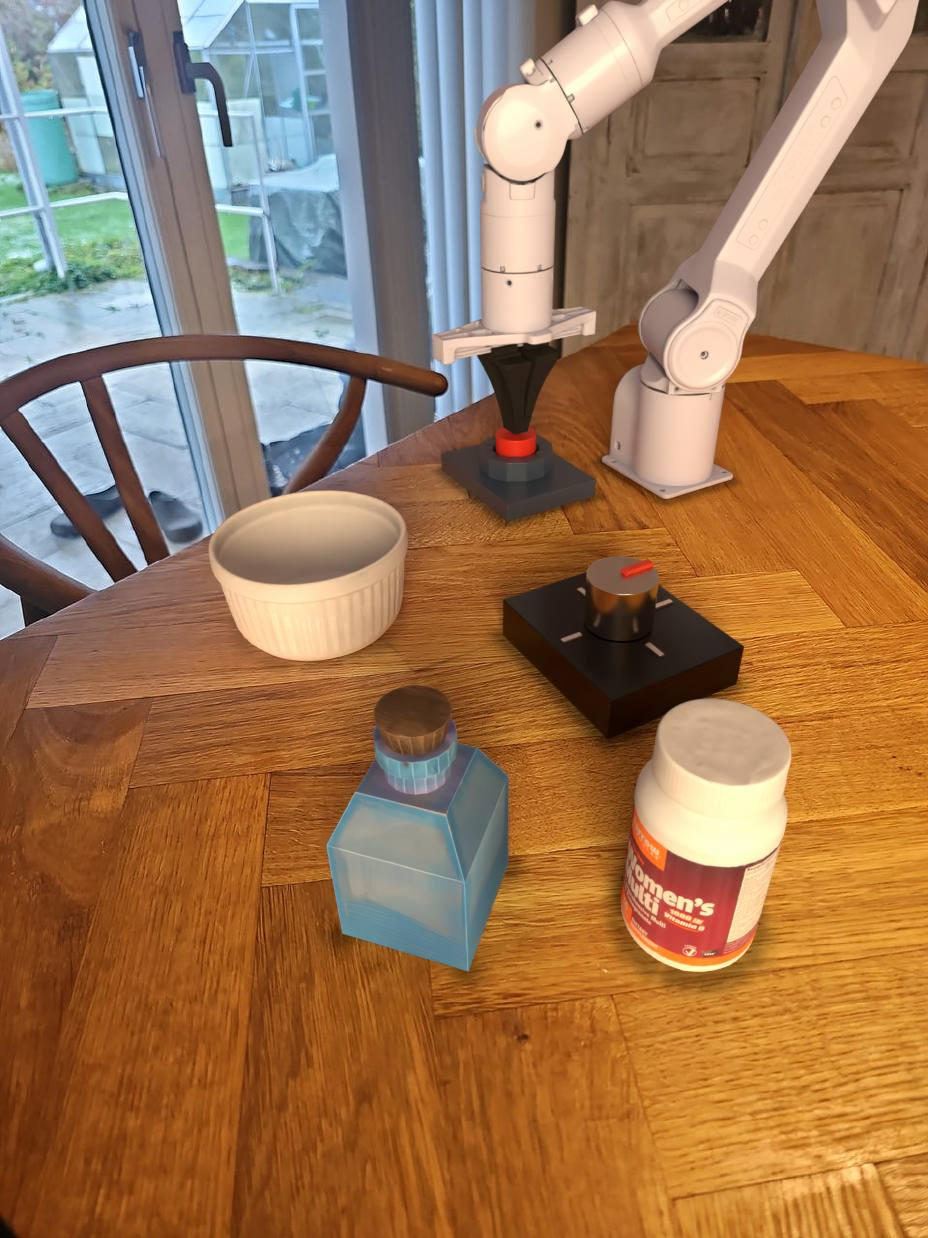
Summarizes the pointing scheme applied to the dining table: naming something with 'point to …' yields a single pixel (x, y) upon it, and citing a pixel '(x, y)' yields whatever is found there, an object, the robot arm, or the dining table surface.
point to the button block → (518, 478)
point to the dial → (620, 598)
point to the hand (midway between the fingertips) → (515, 429)
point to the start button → (515, 443)
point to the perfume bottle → (421, 835)
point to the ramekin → (312, 572)
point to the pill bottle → (705, 833)
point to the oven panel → (620, 656)
